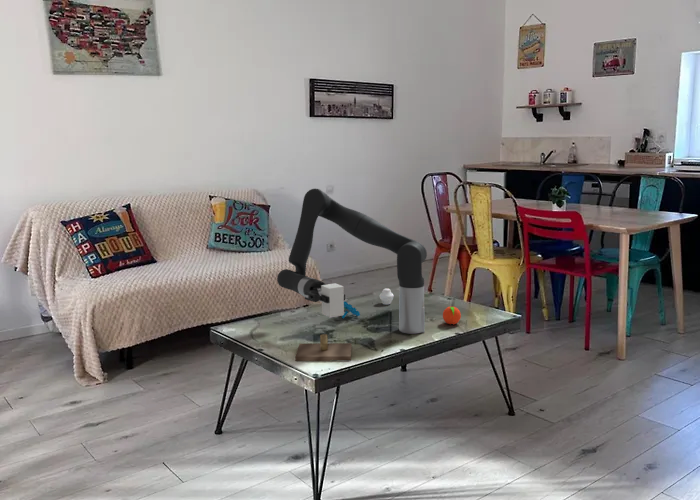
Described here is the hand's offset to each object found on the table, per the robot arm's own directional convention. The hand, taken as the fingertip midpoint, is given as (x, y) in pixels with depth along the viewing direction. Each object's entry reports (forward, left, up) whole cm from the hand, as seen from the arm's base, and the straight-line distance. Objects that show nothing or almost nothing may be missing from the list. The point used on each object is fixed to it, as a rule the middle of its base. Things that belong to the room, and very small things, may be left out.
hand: (336, 299), depth 206 cm
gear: (-3, -40, -18) cm, 44 cm away
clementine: (-43, -28, -18) cm, 54 cm away
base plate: (+4, +4, -18) cm, 19 cm away
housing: (+1, -2, -6) cm, 7 cm away
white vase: (-19, -59, -18) cm, 65 cm away
